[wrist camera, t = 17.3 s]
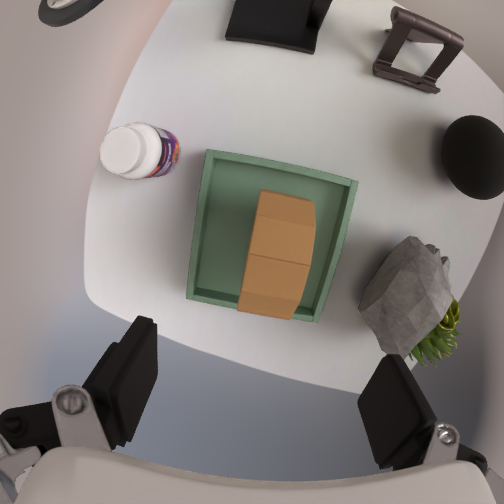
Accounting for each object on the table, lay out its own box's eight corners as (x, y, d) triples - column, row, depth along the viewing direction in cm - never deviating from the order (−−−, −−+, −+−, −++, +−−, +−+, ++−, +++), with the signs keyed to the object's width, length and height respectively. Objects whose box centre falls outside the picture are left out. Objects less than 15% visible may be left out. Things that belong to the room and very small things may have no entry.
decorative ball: (452, 105, 24) (501, 96, 15) (486, 164, 26) (534, 171, 17) (413, 147, 27) (464, 145, 17) (451, 208, 29) (501, 226, 19)
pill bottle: (166, 184, 29) (127, 194, 20) (131, 162, 29) (83, 164, 19) (191, 144, 28) (159, 135, 19) (154, 122, 27) (112, 108, 18)
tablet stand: (371, 76, 24) (402, 53, 16) (368, 25, 22) (394, -5, 14) (431, 95, 24) (471, 83, 16) (426, 45, 22) (460, 26, 14)
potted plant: (422, 211, 26) (493, 288, 24) (363, 264, 36) (429, 322, 35) (403, 290, 19) (486, 372, 17) (327, 332, 30) (407, 392, 28)
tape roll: (241, 280, 32) (232, 335, 21) (260, 185, 28) (259, 196, 18) (279, 287, 32) (286, 344, 21) (302, 194, 28) (325, 211, 18)
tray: (191, 288, 33) (185, 298, 31) (211, 150, 28) (206, 149, 25) (314, 311, 34) (318, 323, 31) (350, 179, 28) (358, 181, 26)
